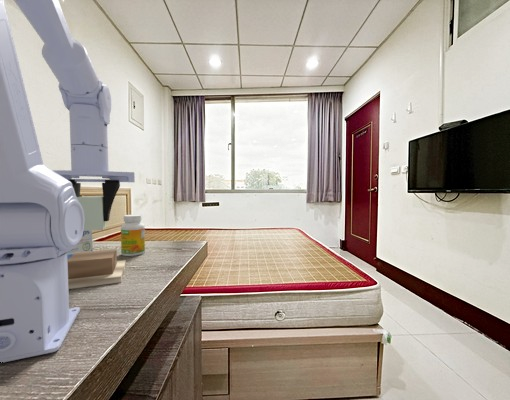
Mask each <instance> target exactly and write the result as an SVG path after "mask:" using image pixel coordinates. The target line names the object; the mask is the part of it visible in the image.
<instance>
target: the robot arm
mask: <svg viewBox="0 0 510 400" xmlns="http://www.w3.org/2000/svg"><path fill="white" fill-rule="evenodd" d="M13 1H14V3H15V4H16V5H17V7H18V8H19V10H20V11H21V12H22V14H23V16H24V17H25V18H26V19H27V21H28V23H29V24H30V25H31V26H32V28H33V29H34V31H35V32H36V33H37V35H38V37H39V38H40V40H41V41H42V42H43V45H42V48H41V55H42V58H43V60H44V61H45V62H46V64H47V65H48V67H49V69H50V70H51V72H52V74H53V75H54V77H55V78H56V79H57V82H58V91H59V92H60V94H61V99H62V103H63V104H64V107H65V109H67V110H68V111H69V113H68V114H69V137H70V142H69V143H70V162H71V163H70V166H71V167H70V168H71V169H70V170H64V169H63V170H60V169H59V170H56V169H55V170H54V169H53V170H52V169H50V168H48V167H47V166H46V165H44V162H43V157H42V154H41V149H40V145H39V141H38V136H37V134H36V129H35V125H34V120H33V115H32V112H31V107H30V104H29V100H28V96H27V95H28V94H27V91H26V88H25V83H24V78H23V75H22V71H21V67H20V64H19V63H20V62H19V58H18V54H17V50H16V46H15V42H14V38H13V33H12V29H11V25H10V21H9V16H8V14H7V13H8V12H7V10H6V5H5V1H4V0H0V362H1V363H0V364H3V363H7V362H12V361H17V360H21V359H27V358H31V357H37V356H41V355H47V354H52V353H55V352H56V351H58V350H59V349H60V348H61V346H62V344H63V343H64V340H65V338H66V337H67V335H68V333H69V331H70V329H71V328H72V326H73V324H74V322H75V320H76V319H77V317H78V315H79V313H80V311H81V308H80V307H79V306H77V307H76V306H75V307H70V294H69V292H70V291H69V290H70V289H68V262H67V252H68V251H70V250H72V249H73V248H74V247H75V246H76V245H77V243H78V242H79V241H80V240H81V237H82V235H83V231H84V212H83V208H82V206H81V204H80V203H79V201H78V199H77V197H81V188H82V187H81V182H82V183H83V182H84V183H101V186H102V188H101V189H102V196H103V200H104V208H103V219H104V221H106V222H109V220H110V215H111V209H112V206H113V203H114V201H115V197H116V195H117V193H118V191H119V189H120V187H121V183H135V179H136V178H135V172H134V171H109V144H108V143H109V141H108V125H110V121H111V120H110V119H111V117H110V116H111V111H112V95H111V91H110V89H109V86H108V85H107V84H106V83H105V84H104V83H103V81H101V80H100V79H99V77H98V74H97V72H96V70H95V69H96V68H94V67H95V66H94V65H93V63H92V61H91V58H90V56H89V54H88V53H89V52H87V51H88V50H87V49H86V47H85V46H84V44H83V43H81V42H79V40H76V39H74V38H73V36H72V33H71V31H70V28H69V25H68V23H67V20H66V18H65V15H64V12H63V10H62V6H61V4H60V1H59V0H13ZM80 177H88V178H80ZM89 177H93V178H89ZM94 177H95V178H94ZM96 177H97V178H96ZM98 177H102V179H101V178H98ZM2 362H3V363H2Z"/></svg>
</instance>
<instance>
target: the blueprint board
mask: <svg viewBox="0 0 510 400" xmlns="http://www.w3.org/2000/svg"><path fill="white" fill-rule="evenodd" d="M117 250H118V249H117V248H110V249H100V250H93V251H87V252H76V253H74V254H73V255H72V256H71V257H70V258H69V259H68V260H67V262H68V289H69V290H71V289H72V290H73V289H80V288H86V287H94V286H95V287H96V286H101V285H103V286H104V285H108V284H110V285H111V284H117V283H122V281H123V278H124V274H125V270H126V265H127V260H126V259H123V260H118V254H117V253H118V251H117Z"/></svg>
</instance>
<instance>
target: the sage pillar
mask: <svg viewBox="0 0 510 400" xmlns="http://www.w3.org/2000/svg"><path fill="white" fill-rule="evenodd" d="M77 199H78V201H79V203H80V204H81V206H82V208H83V212H84V231H92V232H94V231H104V230H105V229H106V228H107V221H104V219H103V208H104V200H103V195H101V196H100V195H99V196H98V195H96V196H91V195H89V196H80V197H77Z"/></svg>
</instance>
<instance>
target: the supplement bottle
mask: <svg viewBox="0 0 510 400" xmlns="http://www.w3.org/2000/svg"><path fill="white" fill-rule="evenodd" d="M141 221H142V214H126V215H125V214H124V215H123V222H124V223H123V224H122V225H121V226H120V249H121V250H120V253H121V255H122V256H123V257H134V256H140V255H143V254H144V253H146V252H145V251H146V239H145V238H146V237H145V233H146V230H145V224H144V223H142V222H141Z"/></svg>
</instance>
